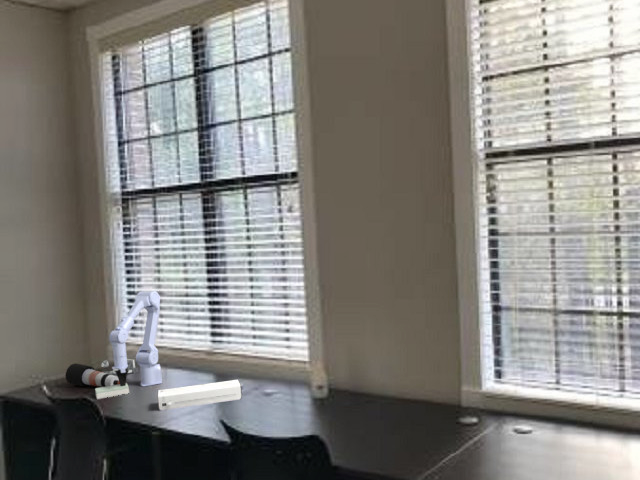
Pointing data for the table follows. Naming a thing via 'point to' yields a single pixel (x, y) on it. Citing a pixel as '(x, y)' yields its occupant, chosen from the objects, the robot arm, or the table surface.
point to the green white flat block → (112, 393)
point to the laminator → (199, 394)
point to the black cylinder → (89, 376)
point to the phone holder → (105, 364)
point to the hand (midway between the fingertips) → (123, 385)
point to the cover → (110, 388)
